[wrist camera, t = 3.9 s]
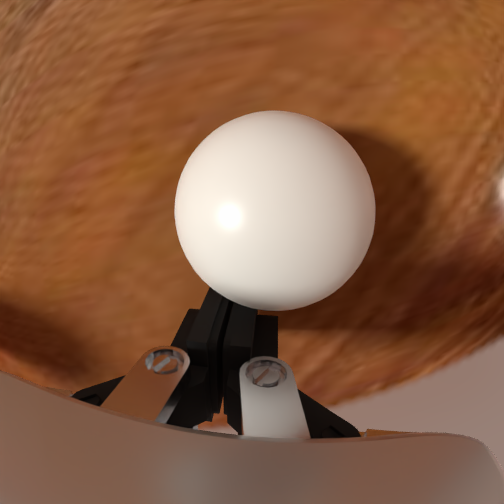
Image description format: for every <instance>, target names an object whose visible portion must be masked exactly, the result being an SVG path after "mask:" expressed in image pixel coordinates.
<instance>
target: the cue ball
mask: <svg viewBox="0 0 504 504" xmlns="http://www.w3.org/2000/svg"><path fill="white" fill-rule="evenodd" d="M175 222H176V229H177V234H178V237H179V241H180V244H181V247H182V249H183V251H184V253H185V256H186V257H187V259H188V261H189V262H190V264H191V266H192V267H193V269H194V270H195V272H196V273H197V274H198V275H199V276H200V277H201V279H202V280H203V281H204V282H205V283H207V284H208V285H209V286H210V287H211V288H212V289H213V290H215V291H216V292H218V293H219V294H221V295H223V296H224V297H226V298H227V299H229V300H231V301H233V302H236V303H238V304H240V305H243V306H247V307H250V308H254V309H259V310H266V311H283V310H293V309H297V308H301V307H305V306H308V305H310V304H313V303H315V302H318V301H320V300H322V299H324V298H325V297H327V296H329V295H331V294H332V293H334V292H335V291H336V290H337V289H339V288H340V287H341V286H342V285H343V284H344V283H345V282H346V281H347V280H348V279H349V278H350V277H351V276H352V275H353V274H354V272H355V271H356V270H357V268H358V267H359V265H360V264H361V263H362V261H363V259H364V257H365V255H366V253H367V250H368V248H369V245H370V242H371V239H372V236H373V231H374V225H375V198H374V191H373V188H372V184H371V181H370V177H369V174H368V172H367V170H366V168H365V166H364V164H363V162H362V161H361V159H360V157H359V156H358V154H357V153H356V151H355V150H354V149H353V148H352V146H351V145H350V144H349V143H348V142H347V141H346V140H345V139H344V138H343V137H342V136H341V135H340V134H338V133H337V132H336V131H335V130H333V129H332V128H330V127H329V126H327V125H325V124H324V123H322V122H320V121H318V120H316V119H314V118H311V117H308V116H306V115H302V114H298V113H294V112H288V111H261V112H255V113H251V114H247V115H244V116H241V117H239V118H236V119H234V120H231V121H229V122H227V123H226V124H224V125H222V126H220V127H219V128H217V129H216V130H214V131H213V132H212V133H211V134H210V135H209V136H207V137H206V138H205V139H204V140H203V141H202V142H201V144H200V145H199V146H198V147H197V148H196V149H195V151H194V152H193V153H192V155H191V156H190V158H189V160H188V162H187V164H186V165H185V167H184V170H183V172H182V174H181V177H180V180H179V183H178V187H177V192H176V198H175Z"/></svg>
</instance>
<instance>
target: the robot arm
mask: <svg viewBox="0 0 504 504" xmlns="http://www.w3.org/2000/svg"><path fill="white" fill-rule="evenodd" d="M257 313H258V309H254V308H250V307H247V306H243V305H240V304H238V303H236V302H233V301H231V300H229V299H227V298H226V297H224V296H223V295H221V294H219V293H218V292H216V291H215V290H213V289H212V288H211V287H210V288H209V290H208V293H207V295H206V297H205V299H204V301H203V304H202V306H201V308H200V310H199V309H189V310H188V312H187V314H186V316H185V318H184V320H183V322H182V324H181V326H180V328H179V330H178V332H177V334H176V336H175V338H174V340H173V342H172V344H171V346H159V347H155V348H152V349H150V350H148V351H147V352H146V353H145V354H143V355H142V357H141V358H140V359H139V360H138V361H137V363H136V364H135V365H134V366H133V367H132V369H131V370H130V371H129V372H128V373H127V375H125V376H122V377H119V378H116V379H113V380H110V381H107V382H104V383H101V384H98V385H95V386H92V387H89V388H85V389H82V390H80V391H78V392H76V393H75V394H74V395H73V393H72V391H69V390H62V389H55V388H49V387H43V386H40V385H38V384H35V383H33V382H31V381H28V380H25V379H23V378H20V377H18V376H16V375H13V374H10V373H7V372H4V371H1V370H0V504H504V470H503V469H502V467H501V465H500V463H499V462H498V460H497V458H496V457H495V455H494V454H493V452H492V451H491V450H490V449H489V448H488V447H487V446H486V445H485V444H484V443H482V442H481V441H479V440H478V439H475V438H472V437H469V436H464V435H459V434H451V433H438V432H422V433H419V432H418V433H417V432H397V431H384V430H372V429H367V430H366V432H359V431H358V430H357V429H356V428H355V427H354V426H353V425H351V424H350V423H348V422H347V421H345V420H343V419H342V418H340V417H339V416H337V415H336V414H334V413H333V412H331V411H330V410H328V409H327V408H325V407H324V406H322V405H321V404H319V403H318V402H316V401H315V400H313V399H312V398H310V397H309V396H307V395H306V394H304V393H303V392H301V391H300V390H298V389H297V386H296V382H295V379H294V375H293V372H292V370H291V368H290V366H289V365H288V364H287V363H285V362H284V361H282V360H280V359H278V316H268V315H257ZM222 399H223V400H224V414H226V415H227V423H228V424H229V425H230V426H231V427H232V428H233V429H235V430H236V431H237V432H238V435H234V434H225V433H217V432H209V431H202V430H198V424H200V423H202V422H204V421H210V422H212V418H213V414H214V413H218V414H219V413H220V409H221V404H222Z"/></svg>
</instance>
